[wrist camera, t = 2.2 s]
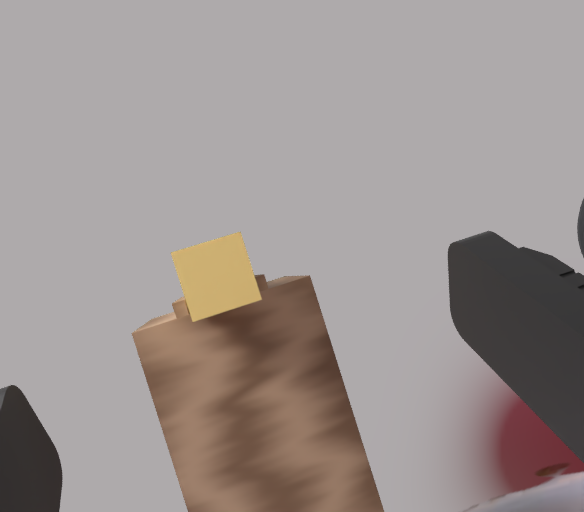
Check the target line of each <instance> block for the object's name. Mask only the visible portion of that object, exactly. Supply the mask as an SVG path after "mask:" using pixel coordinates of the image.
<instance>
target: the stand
mask: <svg viewBox="0 0 584 512" xmlns="http://www.w3.org/2000/svg"><path fill="white" fill-rule="evenodd" d="M254 276H255V279H256V282H257V286H258V289H259V292H260V295H261V298H262V300H259V301H256V302H253V303H250V304H247V305H244V306H241V307H237V308H234V309H231V310H228V311H225V312H222V313H219V314H216V315H213V316H210V317H207V318H204V319H201V320H198V321H195V322H192V318H191V315H190V312H189V309H188V306H187V303H186V299H185V296H184V297H181V298H180V299H178V300H177V301H175V302H174V303H172V306H173V309H174V312H172V313H169V314H166V315H163V316H160V317H157V318H154V319H151V320H150V321H148V322H147V323H146V324H144V325H143V326H141V327H140V328H138V329H137V330H136V331H134V332H133V333H132V336H133V338H134V342H135V345H136V348H137V351H138V355H139V358H140V361H141V364H142V367H143V370H144V374H145V377H146V380H147V383H148V386H149V389H150V392H151V396H152V399H153V402H154V405H155V408H156V411H157V415H158V418H159V421H160V424H161V427H162V430H163V433H164V437H165V440H166V443H167V446H168V449H169V452H170V456H171V458H172V462H173V465H174V468H175V471H176V475H177V478H178V481H179V484H180V487H181V490H182V493H183V497H184V500H185V503H186V506H187V509H188V512H384V510H383V506H382V503H381V500H380V497H379V494H378V491H377V487H376V484H375V481H374V478H373V475H372V471H371V468H370V465H369V462H368V459H367V456H366V453H365V449H364V446H363V443H362V440H361V437H360V433H359V430H358V427H357V424H356V421H355V417H354V415H353V411H352V408H351V405H350V402H349V399H348V395H347V392H346V389H345V386H344V382H343V379H342V376H341V373H340V370H339V367H338V364H337V360H336V357H335V354H334V351H333V347H332V345H331V341H330V338H329V335H328V332H327V329H326V325H325V322H324V319H323V316H322V313H321V309H320V306H319V303H318V300H317V297H316V293H315V291H314V287H313V284H312V281H311V278H310V276H284V277H281V278H278V279H275V280H272V281H269V282H266V279H265V276H264V275H254Z"/></svg>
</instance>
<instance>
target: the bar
mask: <svg viewBox="0 0 584 512" xmlns="http://www.w3.org/2000/svg"><path fill="white" fill-rule="evenodd" d="M171 255H172V258H173V261H174V264H175V268H176V271H177V274H178V277H179V280H180V284H181V287H182V290H183V293H184V296H185V299H186V303H187V306H188V309H189V312H190V315H191V318H192V322H195V321H198V320H201V319H204V318H207V317H210V316H213V315H216V314H219V313H222V312H225V311H228V310H231V309H234V308H237V307H241V306H244V305H247V304H250V303H253V302H256V301H259V300H262V298H261V295H260V292H259V289H258V286H257V282H256V279H255V276H254V273H253V270H252V267H251V263H250V260H249V257H248V254H247V251H246V248H245V245H244V241H243V238H242V235H241V232H237V233H234V234H231V235H228V236H224V237H221V238H218V239H214V240H211V241H208V242H204V243H201V244H198V245H194V246H191V247H188V248H185V249H181V250H178V251H175V252H171Z"/></svg>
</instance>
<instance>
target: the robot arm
mask: <svg viewBox="0 0 584 512" xmlns="http://www.w3.org/2000/svg"><path fill="white" fill-rule="evenodd" d="M577 229H578V241H579V245H580V249H581V252H582V254H583V257H584V199H583V201H582V205H581V207H580V212H579V217H578V226H577ZM448 271H449V293H450V311H451V316H452V319H453V322H454V325H455V327H456V329H457V331H458V332H459V334H460V336H461V337H462V338H463V339H464V341H465V342H466V343H467V344H468V345H469V346H470V347H471V348H472V349H473V350H474V351H475V352H476V353H477V354H478V355H479V356H480V357H481V358H482V359H483V360H484V361H485V362H486V363H487V364H488V365H489V366H490V367H491V368H492V369H493V370H494V371H495V372H496V373H497V374H498V375H499V377H500V378H501V379H502V380H503V381H504V382H505V383H506V384H507V385H508V386H509V387H510V388H511V389H512V390H513V391H514V392H515V393H516V394H517V395H518V396H519V397H520V398H521V399H522V400H523V401H524V402H525V403H526V404H527V405H528V406H529V407H530V408H531V409H532V410H533V411H534V412H535V413H536V415H538V416H539V418H540V419H541V420H543V422H544V423H545V424H546V425H547V426H548V427H549V428H550V429H551V430H552V431H553V432H554V433H555V434H556V435H557V436H558V437H559V438H560V439H561V440H562V441H563V442H564V443H565V444H566V445H567V446H568V447H569V448H570V449H571V450H572V451H573V452H574V454H576V455H577V457H578V458H579V459H580V460H581V461H582V462H583V463H584V275H582V274H580V273H575V272H574V269H572V268H570V267H569V266H568V265H566V264H564V263H563V262H561V261H560V260H558V259H556V258H555V257H553V256H551V255H548V254H544V253H541V252H538V251H535V250H532V249H528V248H525V247H522V248H519V249H518V248H517V247H515V246H514V245H512V244H511V243H509V242H508V241H506V240H505V239H503V238H502V237H500V236H499V235H497V234H496V233H494V232H491V231H487V232H484V233H481V234H478V235H475V236H472V237H469V238H465V239H462V240H459V241H456V242H453V243H452V244H450V246H449V249H448ZM61 490H62V468H61V463H60V459H59V455H58V453H57V450H56V448H55V446H54V444H53V442H52V441H51V439H50V437H49V436H48V434H47V432H46V431H45V429H44V427H43V426H42V424H41V422H40V421H39V419H38V417H37V416H36V414H35V412H34V411H33V409H32V408H31V406H30V404H29V402H28V401H27V399H26V397H25V396H24V394H23V393H22V391H21V390H20V389H19V388H18V387H16V386H14V385H11V386H8V387H5V388H2V389H0V512H59V508H60V499H61Z"/></svg>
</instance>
